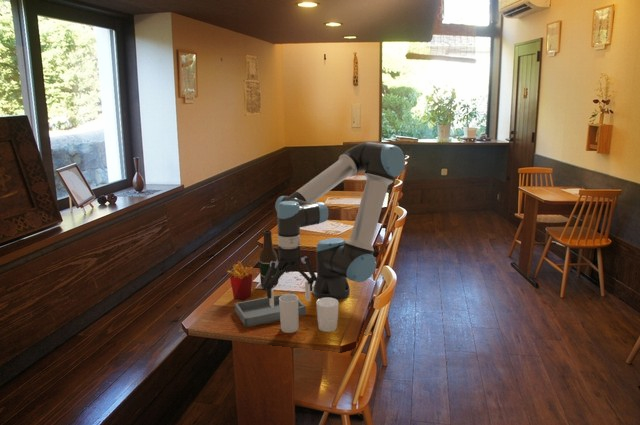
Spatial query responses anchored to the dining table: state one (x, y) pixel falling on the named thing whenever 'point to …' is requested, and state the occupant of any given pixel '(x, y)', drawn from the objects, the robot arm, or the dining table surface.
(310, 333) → the dining table surface
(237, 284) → the french fries
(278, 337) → the dining table surface
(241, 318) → the tray
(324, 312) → the white cup
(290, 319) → the mug
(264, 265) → the beer bottle
